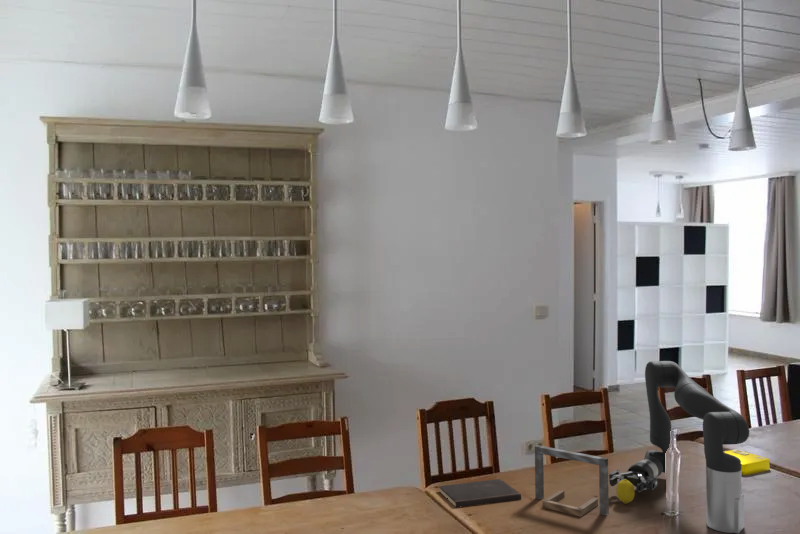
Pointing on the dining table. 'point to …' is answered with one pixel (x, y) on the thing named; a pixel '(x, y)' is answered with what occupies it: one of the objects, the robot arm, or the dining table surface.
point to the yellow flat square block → (750, 462)
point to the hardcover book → (479, 492)
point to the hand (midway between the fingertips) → (624, 485)
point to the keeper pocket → (552, 500)
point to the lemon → (625, 491)
